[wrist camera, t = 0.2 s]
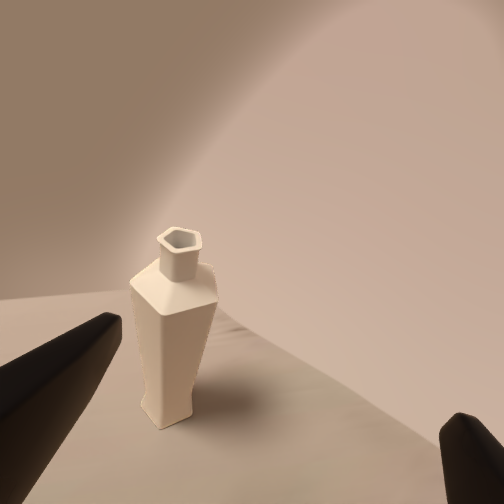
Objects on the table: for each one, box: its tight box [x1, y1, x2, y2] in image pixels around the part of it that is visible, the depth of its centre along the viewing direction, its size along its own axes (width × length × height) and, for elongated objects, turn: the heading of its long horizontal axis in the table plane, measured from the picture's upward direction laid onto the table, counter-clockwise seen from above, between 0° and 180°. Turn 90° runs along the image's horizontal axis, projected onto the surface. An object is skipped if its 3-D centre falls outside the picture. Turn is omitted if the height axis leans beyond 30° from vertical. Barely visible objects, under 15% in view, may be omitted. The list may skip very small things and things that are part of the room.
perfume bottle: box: [129, 227, 218, 429], centre depth 19 cm, size 5×4×15 cm
